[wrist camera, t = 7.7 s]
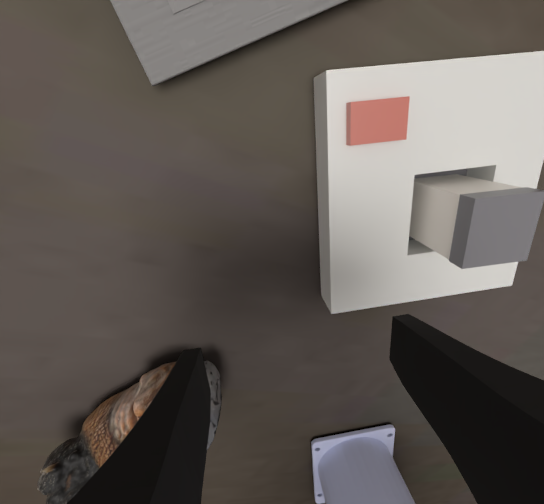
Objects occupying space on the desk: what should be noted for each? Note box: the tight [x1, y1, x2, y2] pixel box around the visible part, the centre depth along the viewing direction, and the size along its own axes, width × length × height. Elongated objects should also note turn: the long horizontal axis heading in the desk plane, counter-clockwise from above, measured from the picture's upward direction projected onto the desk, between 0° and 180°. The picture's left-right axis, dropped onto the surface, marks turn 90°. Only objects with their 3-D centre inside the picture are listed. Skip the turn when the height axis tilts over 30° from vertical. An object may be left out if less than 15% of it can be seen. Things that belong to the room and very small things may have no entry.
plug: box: [409, 174, 544, 269], centre depth 17 cm, size 4×4×6 cm
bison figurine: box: [37, 361, 222, 504], centre depth 20 cm, size 12×7×10 cm
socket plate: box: [313, 51, 544, 314], centre depth 19 cm, size 14×13×3 cm
